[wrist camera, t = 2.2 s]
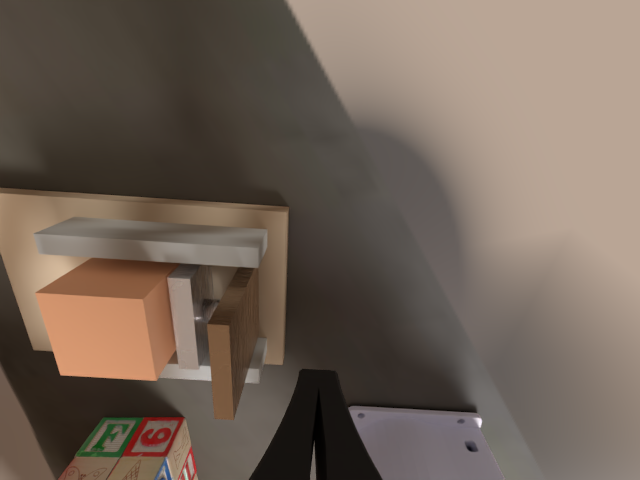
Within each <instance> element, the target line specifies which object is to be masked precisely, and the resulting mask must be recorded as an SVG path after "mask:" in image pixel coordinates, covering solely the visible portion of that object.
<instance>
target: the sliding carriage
mask: <svg viewBox="0 0 640 480" xmlns="http://www.w3.org/2000/svg"><path fill="white" fill-rule="evenodd" d="M167 279H168V287H169V295H170V303H171V311H172V318H173V326H174V334H175V342H176V349H177V357H178V365H179V369H191V370H199V369H200V367H201V365H202V363H203V361H204V358H205V356H206V354H207V352H208V350H209V355H210V367H211V380H212V392H213V405H214V417H215V419H228V420H234V417H235V414H236V410H237V407H238V404H239V400H240V397H241V393H242V390H243V387H244V383H245V380H246V376H247V373H248V370H249V366H250V363H251V359H252V356H253V353H254V349H255V346H256V342H257V339H258V336H259V268H249V267H239V268H238V269H237V271H236V273H235V275H234V277H233V278H232V280H231V282H230V284H229V286H228V287H227V289H226V291H225V293H224V295H223V296H222V298H221V299H214V292H213V277H212V265H202V264H186V263H181V264H180V265H179V266H178V267H177V268H176V269H175V270H174V271H173V272H172V273H171V274H170V275H169V276H168V277H167Z"/></svg>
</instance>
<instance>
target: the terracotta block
mask: <svg viewBox="0 0 640 480" xmlns="http://www.w3.org/2000/svg"><path fill="white" fill-rule="evenodd" d="M180 264H181V263H171V262H155V261H139V260H123V259H108V258H90V259H89V260H87V261H86V262H84V263H82V264H81V265H79V266H77V267H76V268H74V269H73V270H71V271H69V272H68V273H66V274H65V275H63V276H61V277H60V278H58V279H56V280H55V281H53V282H52V283H50V284H48V285H47V286H45V287H44V288H42V289H40V290H39V291H37V292H35V295H36V298H37V301H38V304H39V307H40V311H41V314H42V317H43V320H44V324H45V327H46V330H47V333H48V336H49V340H50V343H51V346H52V349H53V353H54V356H55V359H56V362H57V365H58V369H59V372H60V375H65V376H82V377H99V378H117V379H134V380H151V381H156V380H157V379H158V377H159V376H160V374H161V373H162V371H163V369H164V368H165V366H166V365H167V363H168V361H169V360H170V358H171V357H172V355H173V353H174V352H175V350H176V342H175V334H174V326H173V318H172V311H171V303H170V295H169V287H168V279H167V277H168V276H169V275H170V274H171V273H172V272H173V271H174V270H175V269H176V268H177V267H178V266H179V265H180Z"/></svg>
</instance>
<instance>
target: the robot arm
mask: <svg viewBox="0 0 640 480" xmlns="http://www.w3.org/2000/svg"><path fill="white" fill-rule="evenodd" d="M359 413H361V414H359ZM481 424H482V419H481V417H480V415H479V414H477V413H469V412H452V411H435V410H417V409H400V408H383V407H366V406H351V407H349V408H348V407H347V404H346V402H345V399H344V396H343V393H342V390H341V386H340V383H339V379H338V374H337V372H336V371H330V370H313V369H302V370H300V371H299V377H298V381H297V384H296V387H295V390H294V393H293V396H292V399H291V401H290V403H289V406H288V408H287V410H286V413H285V415H284V417H283V419H282V422H281V424H280V426H279V428H278V430H277V431H276V433H275V435H274V437H273V439H272V441H271V443H270V445H269V447H268V449H267V450H266V452H265V454H264V456H263V457H262V459H261V461H260V462H259V464H258V466H257V467H256V469H255V471H254V472H253V474H252V475H251V477H250V478H249V480H310V472H311V463H312V455H313V446H314V442H315V462H316V480H505V478H504V476H503V474H502V472H501V470H500V468H499V466H498V464H497V462H496V460H495V458H494V456H493V454H492V452H491V450H490V448H489V446H488V444H487V442H486V440H485V438H484V436H483V434H482V432H481V430H480V426H481Z"/></svg>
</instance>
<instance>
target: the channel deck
mask: <svg viewBox="0 0 640 480" xmlns="http://www.w3.org/2000/svg"><path fill="white" fill-rule="evenodd" d="M288 225H289V207H284V206H269V205H253V204H238V203H223V202H208V201H193V200H178V199H163V198H148V197H133V196H118V195H103V194H88V193H73V192H58V191H43V190H27V189H12V188H0V253H1V256H2V259H3V262H4V265H5V268H6V270H7V273H8V276H9V279H10V282H11V285H12V288H13V291H14V294H15V297H16V300H17V303H18V306H19V309H20V312H21V315H22V318H23V321H24V324H25V327H26V330H27V333H28V335H29V338H30V341H31V344H32V347H33V350H40V351H53V349H52V346H51V343H50V340H49V336H48V333H47V330H46V327H45V324H44V320H43V317H42V314H41V311H40V307H39V304H38V301H37V298H36V295H35V292H37V291H39V290H40V289H42V288H44V287H45V286H47V285H48V284H50V283H52V282H53V281H55V280H56V279H58V278H60V277H61V276H63V275H65V274H66V273H68V272H69V271H71V270H73V269H74V268H76V267H77V266H79V265H81V264H82V263H84V262H86V261H87V260H89V259H90V258H108V259H123V260H139V261H155V262H171V263H186V264H202V265H212V277H213V292H214V299H221V298H222V296H223V295H224V293H225V291H226V289H227V287H228V286H229V284H230V282H231V280H232V278H233V277H234V275H235V273H236V271H237V269H238V268H239V267H249V268H259V336H258V339H257V342H256V346H255V349H254V353H253V356H252V359H251V363H250V366H249V370H248V373H247V376H246V380H245V383H259V382H260V378H261V374H262V370H263V366H264V364H276V365H283V361H284V354H285V325H286V291H287V258H288ZM158 378H175V379H192V380H209V381H212V380H211V367H210V355H209V350H208V352H207V354H206V356H205V358H204V361H203V363H202V365H201V367H200V369H199V370H191V369H179V365H178V357H177V349H176V350H175V352H174V353H173V355H172V357H171V358H170V360H169V361H168V363H167V365H166V366H165V368H164V369H163V371H162V373H161V374H160V376H159V377H158Z"/></svg>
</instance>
